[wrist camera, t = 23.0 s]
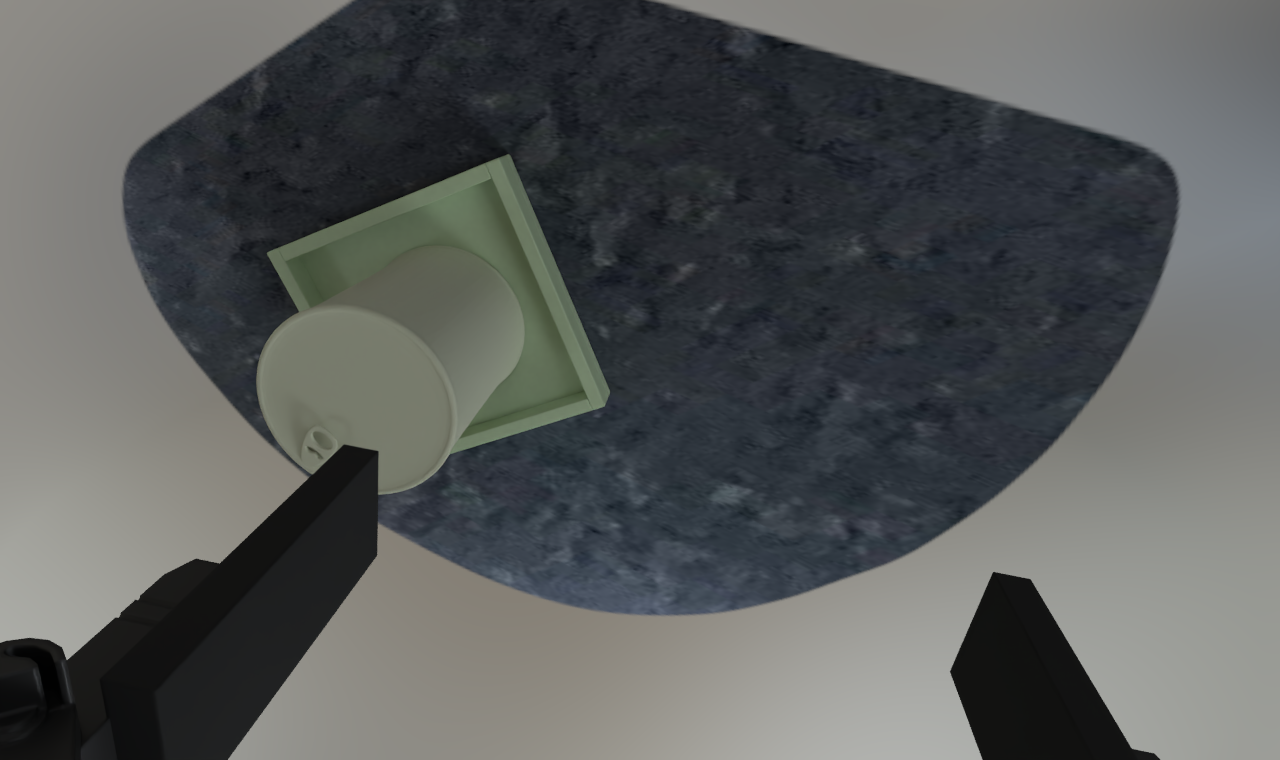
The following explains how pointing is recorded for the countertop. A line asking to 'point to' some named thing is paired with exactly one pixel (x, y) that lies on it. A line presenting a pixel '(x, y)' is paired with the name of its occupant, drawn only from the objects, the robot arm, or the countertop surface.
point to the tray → (497, 233)
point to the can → (393, 364)
